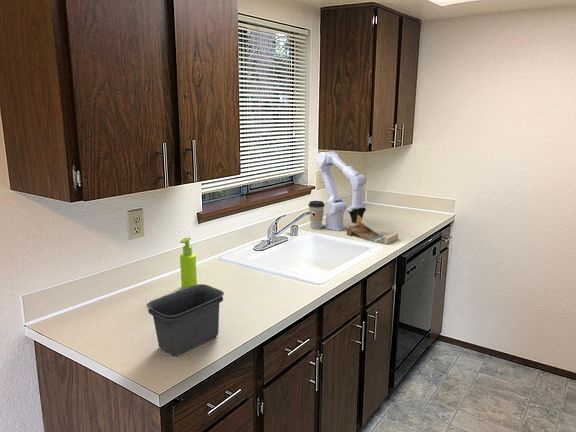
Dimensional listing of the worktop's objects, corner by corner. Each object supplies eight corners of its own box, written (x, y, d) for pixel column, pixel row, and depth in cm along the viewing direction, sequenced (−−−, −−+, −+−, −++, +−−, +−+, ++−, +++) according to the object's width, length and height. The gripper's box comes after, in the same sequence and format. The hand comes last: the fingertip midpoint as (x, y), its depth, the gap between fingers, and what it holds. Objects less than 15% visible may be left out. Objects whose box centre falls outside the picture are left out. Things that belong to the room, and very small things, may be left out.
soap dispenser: (177, 290, 179) (174, 240, 174) (185, 283, 186) (183, 235, 181) (192, 291, 178) (189, 241, 173) (199, 284, 184) (197, 236, 179)
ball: (350, 224, 252) (350, 215, 251) (355, 222, 256) (355, 213, 255) (358, 225, 249) (358, 216, 248) (363, 223, 253) (363, 214, 252)
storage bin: (172, 364, 129) (169, 317, 126) (141, 345, 139) (137, 301, 135) (230, 336, 145) (228, 293, 141) (198, 321, 154) (196, 280, 151)
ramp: (346, 236, 253) (347, 225, 251) (356, 232, 260) (356, 221, 258) (368, 241, 244) (369, 229, 242) (378, 237, 251) (378, 225, 249)
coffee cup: (316, 224, 273) (316, 199, 269) (327, 228, 266) (328, 202, 262) (304, 227, 267) (304, 201, 264) (315, 230, 260) (316, 204, 257)
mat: (363, 239, 244) (364, 233, 243) (375, 234, 253) (375, 228, 252) (386, 244, 236) (387, 238, 235) (398, 239, 244) (398, 233, 244)
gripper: (356, 200, 241) (355, 225, 244) (371, 196, 252) (370, 220, 255) (345, 198, 246) (344, 223, 249) (360, 194, 256) (359, 218, 260)
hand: (356, 221), depth 252 cm, fingers closed on ball, 5 cm apart
